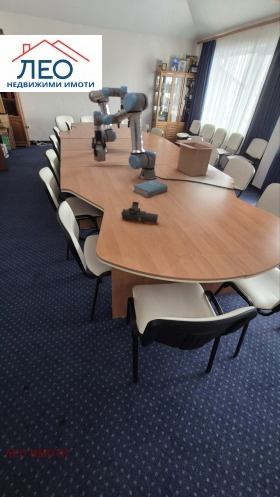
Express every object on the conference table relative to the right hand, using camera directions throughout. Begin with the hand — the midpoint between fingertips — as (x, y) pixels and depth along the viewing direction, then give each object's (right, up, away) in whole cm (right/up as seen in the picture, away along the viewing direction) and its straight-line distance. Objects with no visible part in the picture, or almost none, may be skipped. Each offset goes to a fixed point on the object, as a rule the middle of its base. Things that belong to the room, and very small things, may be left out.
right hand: (99, 155), depth 220 cm
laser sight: (+40, -75, -82) cm, 118 cm away
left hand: (+23, +38, +19) cm, 48 cm away
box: (+93, -14, +7) cm, 94 cm away
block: (0, -4, +3) cm, 5 cm away
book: (+49, -47, -42) cm, 80 cm away
